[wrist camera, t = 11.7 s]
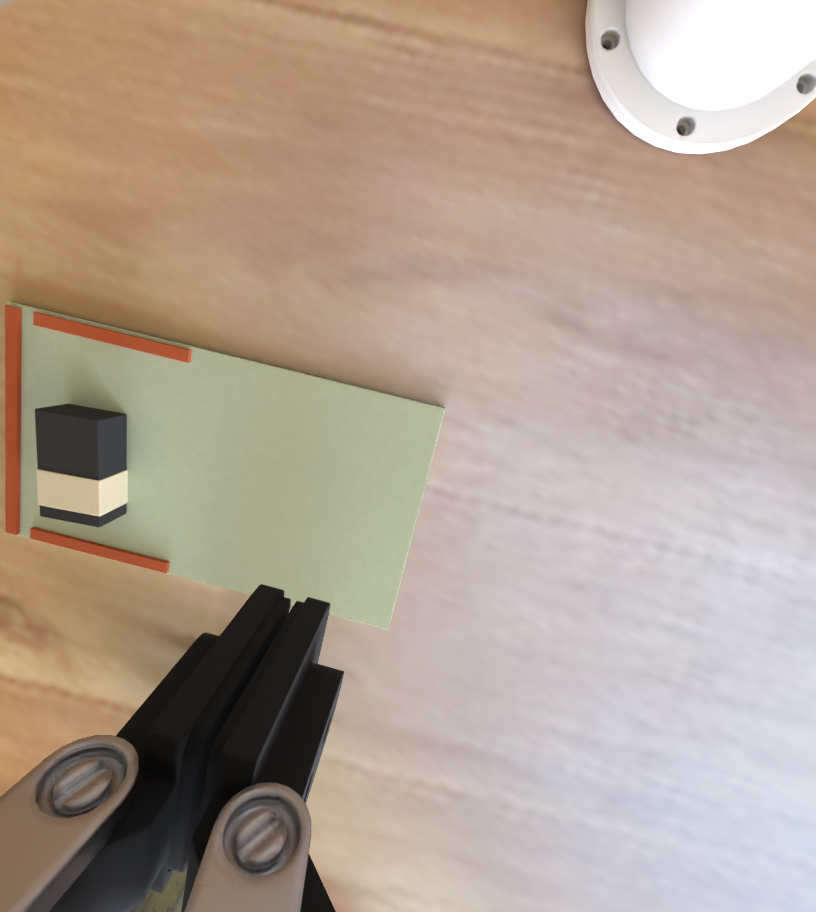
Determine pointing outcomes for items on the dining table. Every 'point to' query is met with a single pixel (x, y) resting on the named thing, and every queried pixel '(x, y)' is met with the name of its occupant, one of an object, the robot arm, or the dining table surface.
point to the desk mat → (227, 463)
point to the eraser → (81, 464)
